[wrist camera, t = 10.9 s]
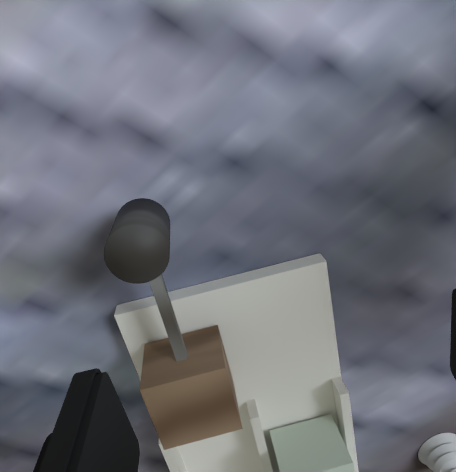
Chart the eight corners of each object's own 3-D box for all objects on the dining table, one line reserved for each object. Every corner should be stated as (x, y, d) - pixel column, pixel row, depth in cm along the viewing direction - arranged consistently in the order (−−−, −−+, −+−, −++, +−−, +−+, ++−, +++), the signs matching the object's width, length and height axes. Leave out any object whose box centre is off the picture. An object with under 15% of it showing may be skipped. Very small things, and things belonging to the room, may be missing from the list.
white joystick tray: (116, 305, 32) (103, 362, 25) (319, 253, 32) (355, 296, 26) (191, 492, 41) (194, 567, 35) (346, 450, 42) (376, 516, 36)
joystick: (92, 206, 26) (72, 239, 21) (179, 185, 27) (180, 212, 21) (165, 398, 34) (163, 458, 28) (233, 380, 34) (244, 436, 29)
